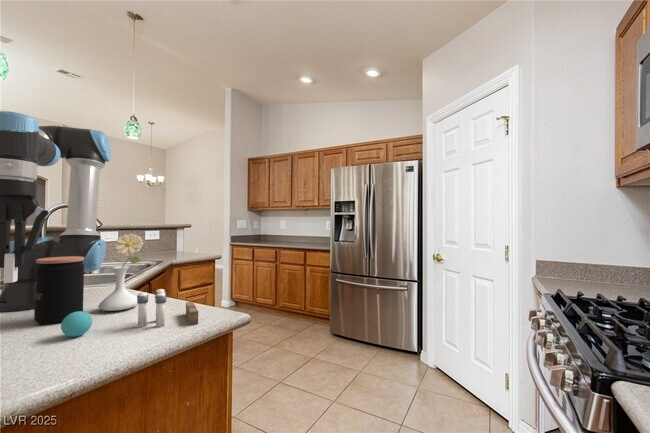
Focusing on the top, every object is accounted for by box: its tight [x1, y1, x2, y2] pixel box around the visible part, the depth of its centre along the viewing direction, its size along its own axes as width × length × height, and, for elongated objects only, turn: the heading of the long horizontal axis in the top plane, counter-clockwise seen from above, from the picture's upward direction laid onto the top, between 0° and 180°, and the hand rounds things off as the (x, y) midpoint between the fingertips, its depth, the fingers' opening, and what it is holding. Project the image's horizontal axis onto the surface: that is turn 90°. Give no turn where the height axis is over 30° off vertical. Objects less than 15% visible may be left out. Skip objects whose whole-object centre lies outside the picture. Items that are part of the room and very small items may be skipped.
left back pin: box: [154, 288, 166, 313], centre depth 86 cm, size 3×3×9 cm
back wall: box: [185, 301, 199, 326], centre depth 88 cm, size 12×2×4 cm, turn 31°
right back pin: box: [154, 292, 167, 328], centre depth 81 cm, size 3×3×9 cm
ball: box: [60, 311, 93, 338], centre depth 74 cm, size 6×6×6 cm
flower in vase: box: [97, 233, 144, 312], centre depth 98 cm, size 13×11×25 cm
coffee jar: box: [33, 256, 85, 326], centre depth 87 cm, size 11×11×18 cm
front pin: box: [136, 292, 149, 328], centre depth 81 cm, size 3×3×9 cm
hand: (10, 281), depth 68 cm, fingers closed
